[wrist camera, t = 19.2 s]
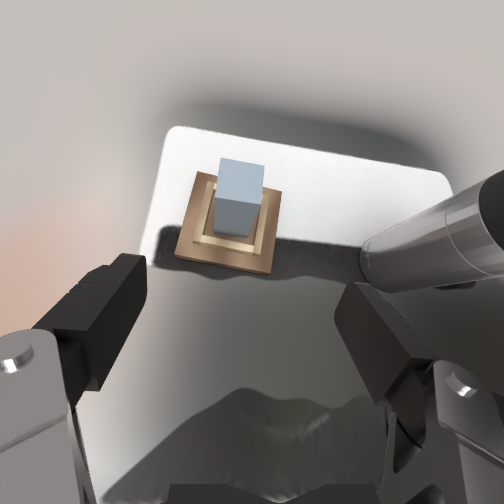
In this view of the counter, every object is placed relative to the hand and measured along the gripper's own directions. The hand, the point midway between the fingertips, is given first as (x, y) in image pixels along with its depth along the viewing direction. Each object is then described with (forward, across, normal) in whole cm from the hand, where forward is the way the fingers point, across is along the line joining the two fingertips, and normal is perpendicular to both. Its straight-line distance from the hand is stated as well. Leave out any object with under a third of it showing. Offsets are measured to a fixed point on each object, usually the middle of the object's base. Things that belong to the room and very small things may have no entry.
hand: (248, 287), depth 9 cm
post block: (+24, 0, +6) cm, 25 cm away
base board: (+25, 0, +7) cm, 26 cm away
